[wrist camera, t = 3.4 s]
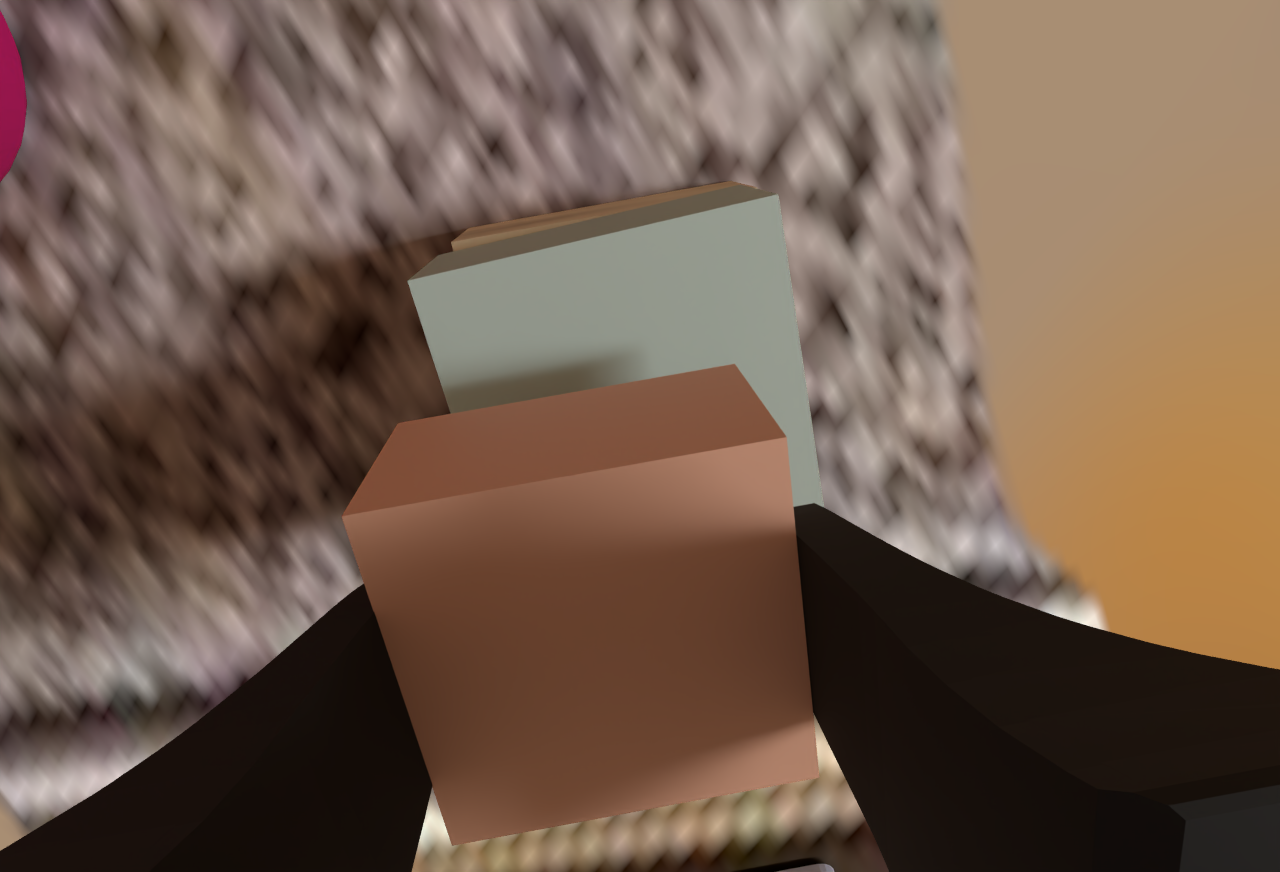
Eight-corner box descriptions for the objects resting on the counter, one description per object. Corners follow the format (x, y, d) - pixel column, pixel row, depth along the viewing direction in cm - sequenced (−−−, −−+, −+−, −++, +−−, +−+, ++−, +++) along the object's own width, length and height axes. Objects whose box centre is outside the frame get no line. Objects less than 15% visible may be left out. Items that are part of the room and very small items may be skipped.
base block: (757, 422, 20) (786, 467, 17) (527, 464, 20) (519, 517, 17) (728, 180, 18) (756, 187, 15) (470, 226, 18) (451, 242, 15)
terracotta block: (768, 642, 13) (818, 777, 11) (477, 696, 13) (451, 845, 10) (734, 363, 12) (786, 436, 9) (397, 422, 11) (341, 515, 9)
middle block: (785, 463, 17) (826, 525, 14) (520, 524, 17) (510, 598, 15) (740, 184, 15) (778, 194, 12) (438, 254, 15) (407, 280, 12)
